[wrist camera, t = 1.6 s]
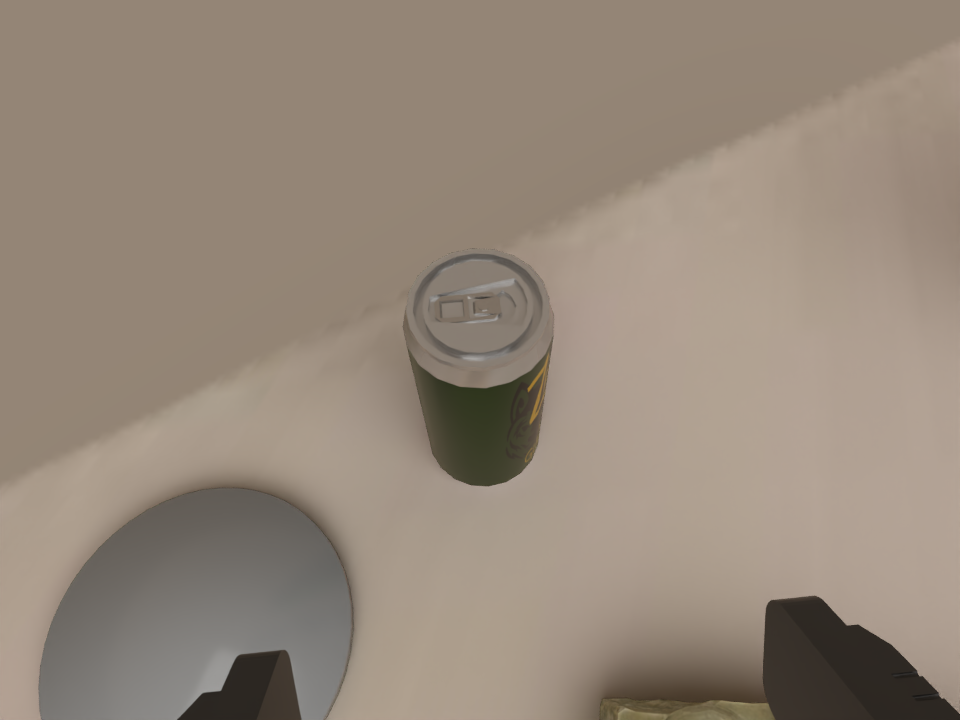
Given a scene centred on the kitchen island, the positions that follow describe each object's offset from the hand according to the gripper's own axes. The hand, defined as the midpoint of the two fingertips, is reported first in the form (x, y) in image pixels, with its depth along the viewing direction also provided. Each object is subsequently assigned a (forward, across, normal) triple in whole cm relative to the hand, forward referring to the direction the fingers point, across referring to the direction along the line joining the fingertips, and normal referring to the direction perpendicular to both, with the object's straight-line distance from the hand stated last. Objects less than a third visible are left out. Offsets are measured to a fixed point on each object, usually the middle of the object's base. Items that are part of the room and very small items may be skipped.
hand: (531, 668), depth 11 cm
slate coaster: (+16, +13, +10) cm, 23 cm away
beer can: (+21, 0, +5) cm, 22 cm away
